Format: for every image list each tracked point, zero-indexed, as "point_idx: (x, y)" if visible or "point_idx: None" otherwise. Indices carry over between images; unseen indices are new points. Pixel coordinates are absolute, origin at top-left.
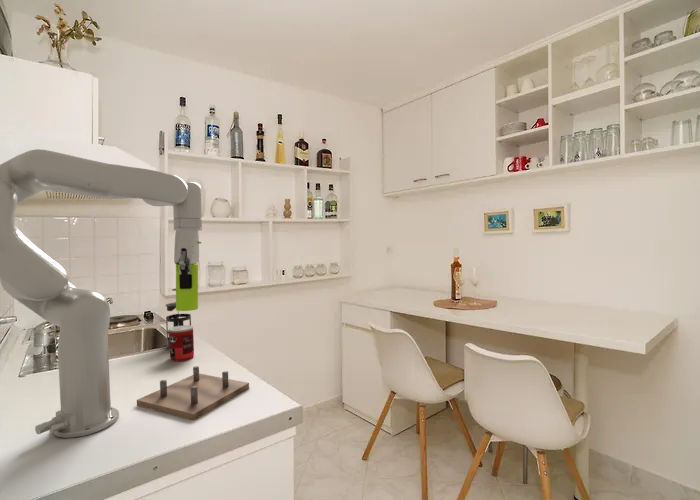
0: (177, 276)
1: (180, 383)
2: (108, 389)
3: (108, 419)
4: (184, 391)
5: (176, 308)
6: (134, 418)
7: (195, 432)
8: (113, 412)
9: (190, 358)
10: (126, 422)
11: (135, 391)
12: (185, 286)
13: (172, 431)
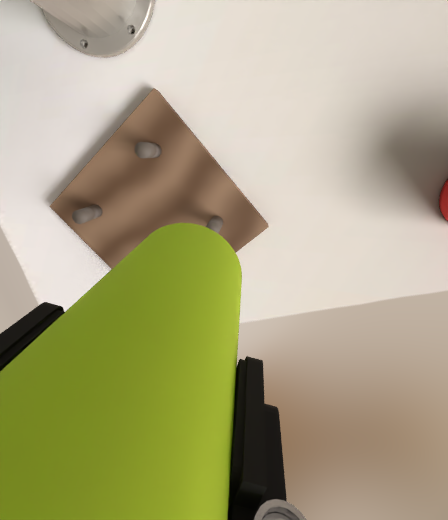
0: (18, 358)
1: (214, 186)
2: (47, 8)
3: (77, 37)
4: (162, 194)
5: (165, 227)
6: (96, 94)
7: (16, 204)
8: (108, 41)
9: (444, 217)
10: (82, 79)
11: (251, 75)
12: None
13: (27, 169)
